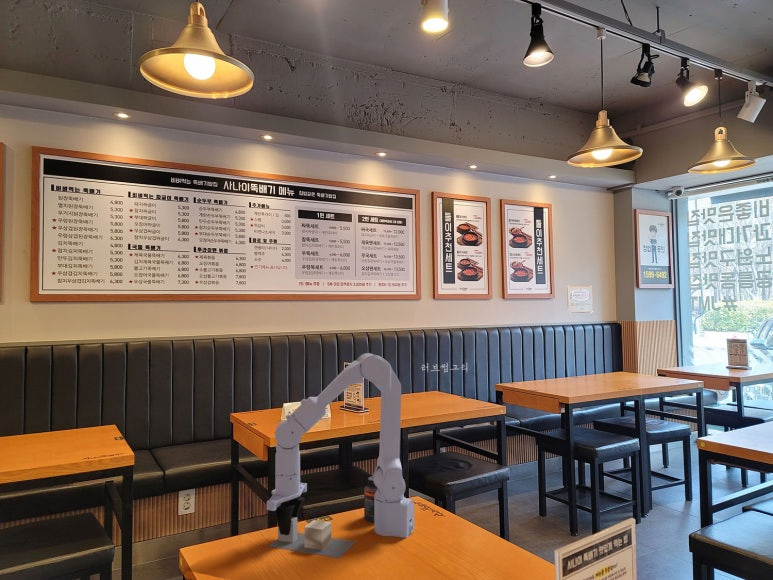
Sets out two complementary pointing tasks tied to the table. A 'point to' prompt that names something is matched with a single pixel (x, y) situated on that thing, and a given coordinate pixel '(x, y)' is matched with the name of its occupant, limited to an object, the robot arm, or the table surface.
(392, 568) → the table surface
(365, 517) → the supplement bottle
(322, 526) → the birch block
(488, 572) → the table surface
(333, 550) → the gray plate with post
